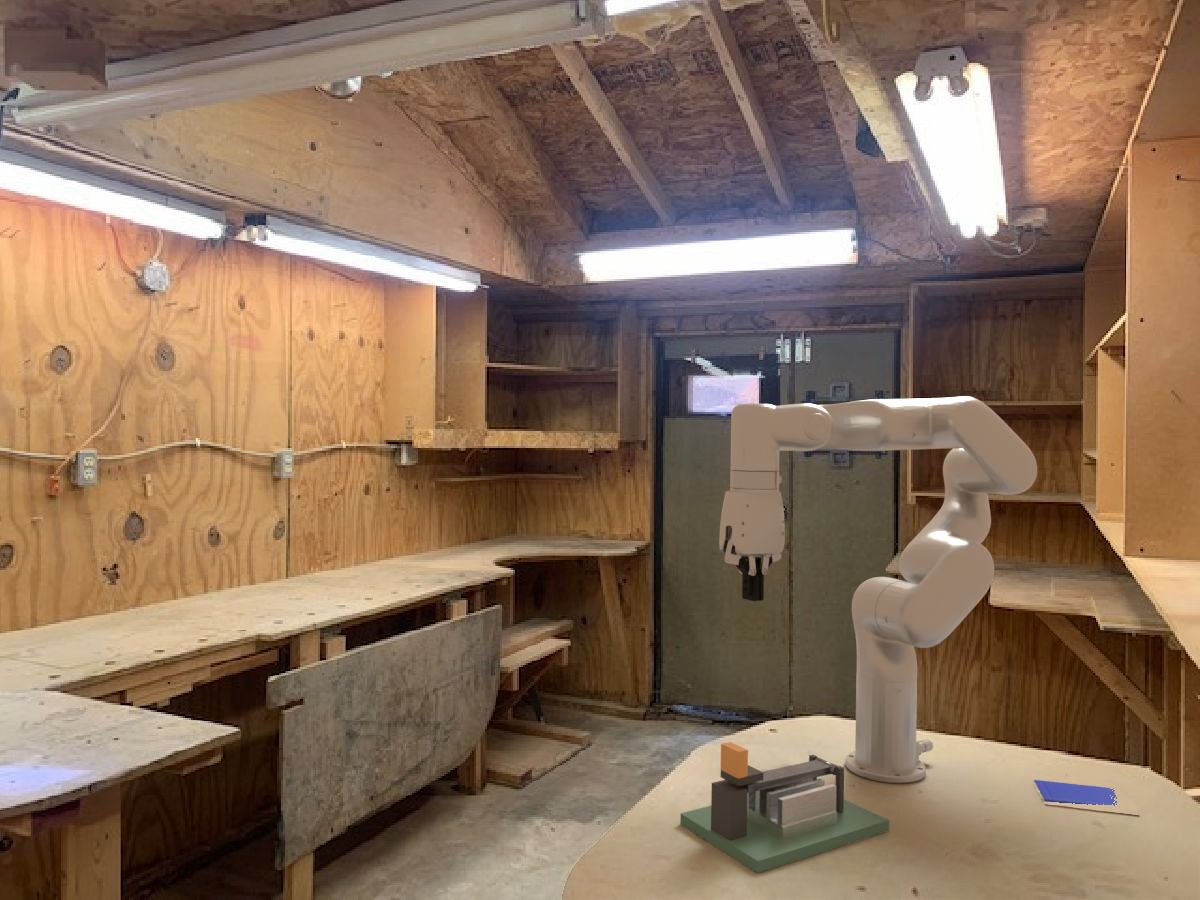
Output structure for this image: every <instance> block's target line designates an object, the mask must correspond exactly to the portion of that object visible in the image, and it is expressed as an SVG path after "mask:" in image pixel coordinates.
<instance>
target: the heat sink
mask: <svg viewBox="0 0 1200 900" xmlns="http://www.w3.org/2000/svg"><path fill="white" fill-rule="evenodd" d="M791 765H792V764H789V763H783V764H779V765H775V766H771V767H767V768H763V769H758V770H759V771H761V772H763V771H768V770H772V769H777V768H782V767H786V766H791ZM825 783H826V780H825V779H822V778H817V780H813V778H811V779H807V780H802V781H798V782H794V783H789V784H785V785H781V786H776V787H772V788H768V789H763V790H759V791H755V792H750V793H747V819H748V820H750V821H752V822H754V823H755V824H757V825H759V826H761V827H763V828H764V829H766V830H768V831H770V832H771V833H773V834H775V835H777V836H779V837H780V838H782V839H784V838H788V837H791V836H794V835H798V834H801V833H804V832H808V831H811V830H814V829H818V828H821V827H824V826H828V825H831V824H834V823H837V811H836V784H833V783H830V784H827V785H825Z"/></svg>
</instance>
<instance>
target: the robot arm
mask: <svg viewBox="0 0 1200 900" xmlns="http://www.w3.org/2000/svg"><path fill="white" fill-rule="evenodd" d="M930 449H931V450H935V449H937V450H939V449H950V450H949V452H948V453H947V455H946V457H945V458H944V460H943V463H942V464H943V465H942V475H943V482H944V500H943V503H942V506H941V508H939V510H938V511H937V513H936V514H935V515H934V516H933V518H932V519H931V520H930V521H929V522H928V523H927V524H926V525H925V526H924V527H923V528H922V529H921V530H920V532H919V533H917V535H916V536H914V537H913V539H912V540H911V541H910V542H909V543H908V544H907V545H906V547H904V549H903V551H902V553H901V554H900V555H899V560H898V569H899V572H900V575H901V577H903V578H904V580H901V579H898V578H893V577H889V576H888V577H887V576H876V577H871V578H869V579H867V580H865V581H863V582H862V583H861V584H859V586H858V587H857V588H856V590H855V592H854V594H853V596H852V600H851V601H852V602H851V615H852V623H853V628H854V634H855V643H856V681H855V683H856V685H855V688H856V689H855V690H856V691H855V694H856V695H855V741H854V742H855V748H854V749H855V750H854V751H852V752H850V753H848V754H846V756H845V767H846V768H847V769H848V770H849V771H850V772H852V773H853V774H856V775H858V776H860V777H862V778H866V779H869V780H871V781H872V780H873V781H877V782H883V783H893V784H902V783H903V784H906V783H913V782H917V781H920V780H922V779H924V778H925V776H926V774H927V767H926V765H925V763H923V762H922V761H921V760H920V756H921V755H922V753H927V752H931V751H932V750H934V749H933V748H934V745H933V742H932V741H931V740H930V739H928V738H926V739H921V740H917V715H918V713H917V708H918V705H917V704H918V660H917V654H916V649H915V648H919V649H925V648H926V649H927V648H932V647H936V645H939V644H940V643H942V642H944V640H946V639H947V638H948V636H950V635H951V634H952V633H953V632H954V630H956V628H957V627H958V626H959V625H960V624H961V623H962V621H964V619H965V618H966V617H967V616H968V615H969V614H970V613H971V612H972V611H973V609H974V608H975V607H976V606H977V604H979V602H980V601H981V600H982V599H983V598H984V597H985V595H986V594H987V592H988V591H989V589H990V587H991V585H992V582H993V580H994V574H995V564H994V563H995V562H994V559H993V556H992V554H991V552H990V551H989V550H988V548H987V547H985V546H984V545H983V544H982V543H983V542H984V540H985V539H986V537H987V536H988V534H989V533H990V529H991V525H992V517H991V516H992V515H991V509H990V508H991V507H990V501H989V495H988V494H991V495H1004V496H1005V495H1006V496H1007V495H1009V496H1014V495H1019V494H1021V493H1024V492H1026V491H1028V490H1029V489H1030V488H1031V487H1032V485H1034V483H1035V481H1036V478H1037V475H1038V464H1037V463H1038V462H1037V460H1036V459H1037V458H1035V455H1034V454H1033V452H1032V450H1031V449H1030V447H1029V446H1028V445H1027V444H1026V443H1025V441H1023V440H1022V439H1021V437H1020V436H1019V435H1018V434H1017V433H1016V432H1015V431H1013V429H1012V428H1011V427H1010V426H1009V425H1008V424H1007V423H1006V422H1005V421H1004V420H1003V419H1002V418H1001V416H999V415H998V414H997V413H996V412H995V411H994V410H993V409H992V408H991V407H989V406H988V405H987V404H986V403H984V402H983V401H981V400H979V399H977V398H975V397H973V396H967V395H966V396H965V395H963V396H951V397H931V398H929V397H928V398H885V399H884V398H879V399H878V398H876V399H875V398H874V399H864V400H861V399H860V400H855V401H854V400H853V401H849V402H848V401H847V402H841V403H840V402H839V403H832V404H816V403H815V404H814V403H810V402H809V403H807V402H805V403H792V404H791V403H790V404H782V405H774V404H771V403H757V402H756V403H751V402H750V403H739V404H737V405H735V406H734V407H733V408H732V410H731V417H730V471H729V472H730V476H729V477H730V480H729V481H730V484H729V485H730V486H729V487H730V488H729V490H727V491H725V494H724V499H723V503H722V509H721V514H720V525H719V537H718V538H719V541H718V542H719V543H718V545H719V551H720V552H721V553H724V554H725V555H724V563H727V564H729V565H730V564H732V565H735V567H736V568H737V569H738V572H739V574H740V575H742V577H741V578H742V579H741V582H742V583H741V585H742V587H741V597H742V599H743V600H747V601H751V602H758V601H759V602H761V601H764V598H765V597H764V594H765V593H764V588H765V586H764V585H765V584H764V583H765V582H764V581H765V576H766V575H767V574H768V572H769V571H768V570H769V567H770V566H771V565H772V563H775V562H778V561H780V560H781V559H782V551H783V550H784V549H785V542H786V541H785V540H786V539H785V538H786V526H785V511H784V504H783V503H784V502H783V496H782V492H781V491H780V484H781V483H782V482H783V478H782V475H780V452H781V451H783V452H784V451H785V452H787V451H789V452H790V451H793V452H810V451H811V452H813V451H815V450H845V451H855V452H859V451H860V452H885V451H886V452H887V451H907V450H909V451H911V450H913V451H914V450H930Z"/></svg>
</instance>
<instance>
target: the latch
mask: <svg viewBox="0 0 1200 900" xmlns="http://www.w3.org/2000/svg"><path fill="white" fill-rule="evenodd" d="M748 755H749V750H748V749H747V748H744V747H743V746H740V745H738V744H736V743H734V742H731V741H727V742H723V743H720V778H722V779H723V780H727V781H729V782H731V783H733V784H735V785H737V786H741V785H745V784H749V783H753V782H757V781H761V780H763V772H761V771H759V770H760V769H757V768H755V767H754V766H751V765H749V764H748V763H749V762H748V760H749V758H748V757H749V756H748Z"/></svg>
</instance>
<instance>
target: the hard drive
mask: <svg viewBox="0 0 1200 900" xmlns="http://www.w3.org/2000/svg"><path fill="white" fill-rule="evenodd" d="M1034 783H1035V785H1036V787H1037V789H1038V790H1039V791H1040V794H1041V796H1042V798H1043V800H1044V802H1059V803H1072V804H1073V803H1075V804H1087V805H1088V804H1092V805H1096V804H1098V805H1103V804H1104V805H1112V804H1113V805H1114V806H1115V803H1117V801H1115V800H1114V798H1115V797H1116V795H1115V793H1114V791H1115V790H1113V789H1114V788H1115V787H1112V788H1113V789H1110V788H1111V787H1107V786H1095V785H1087V784H1078V783H1076V784H1075V783H1068V782H1058V781H1048V780H1047V781H1046V780H1040V779H1039V780H1038V779H1033V784H1034ZM1106 787H1107V788H1106ZM1112 790H1113V791H1112ZM1110 795H1111V796H1110ZM1112 796H1113V797H1112ZM1111 797H1112V799H1111ZM1116 799H1117V797H1116ZM1114 801H1115V803H1113V802H1114ZM1116 805H1117V804H1116Z"/></svg>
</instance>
